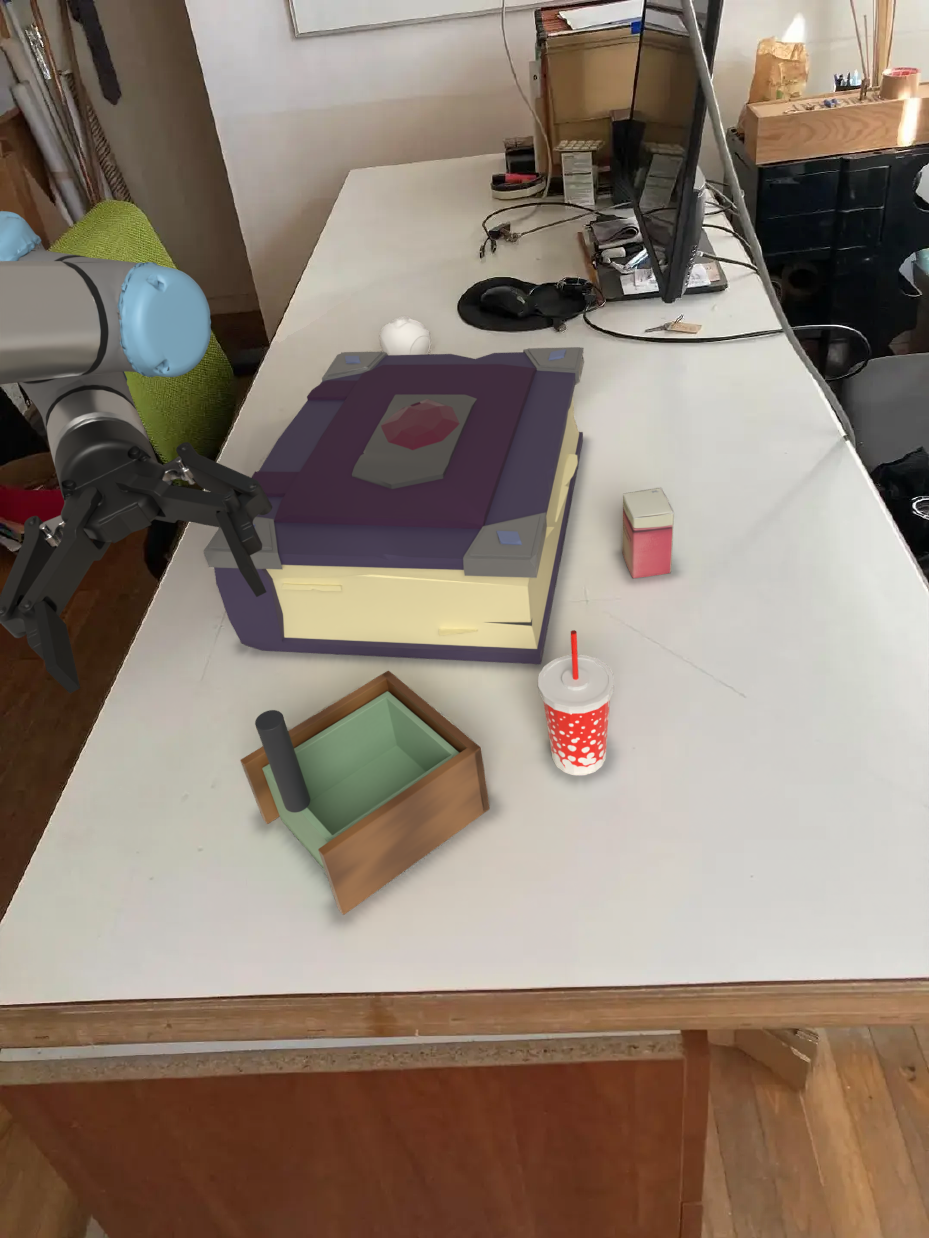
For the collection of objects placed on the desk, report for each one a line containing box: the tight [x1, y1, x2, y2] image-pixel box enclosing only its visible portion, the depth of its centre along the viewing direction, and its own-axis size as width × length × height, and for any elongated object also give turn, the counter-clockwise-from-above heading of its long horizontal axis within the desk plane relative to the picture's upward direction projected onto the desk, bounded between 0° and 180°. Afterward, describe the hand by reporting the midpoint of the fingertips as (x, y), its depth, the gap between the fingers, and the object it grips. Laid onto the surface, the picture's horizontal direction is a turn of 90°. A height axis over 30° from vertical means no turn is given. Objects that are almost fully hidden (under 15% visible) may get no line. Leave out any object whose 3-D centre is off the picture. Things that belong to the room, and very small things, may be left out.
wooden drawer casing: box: [240, 670, 490, 916], centre depth 75 cm, size 15×13×8 cm
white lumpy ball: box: [378, 315, 432, 355], centre depth 144 cm, size 8×8×8 cm
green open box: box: [254, 691, 459, 871], centre depth 72 cm, size 13×10×16 cm
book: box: [202, 346, 585, 665], centre depth 105 cm, size 33×45×14 cm
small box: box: [621, 487, 675, 579], centre depth 97 cm, size 5×4×8 cm
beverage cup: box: [537, 629, 615, 776], centre depth 76 cm, size 6×6×14 cm
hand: (159, 630), depth 61 cm, fingers open, 13 cm apart
